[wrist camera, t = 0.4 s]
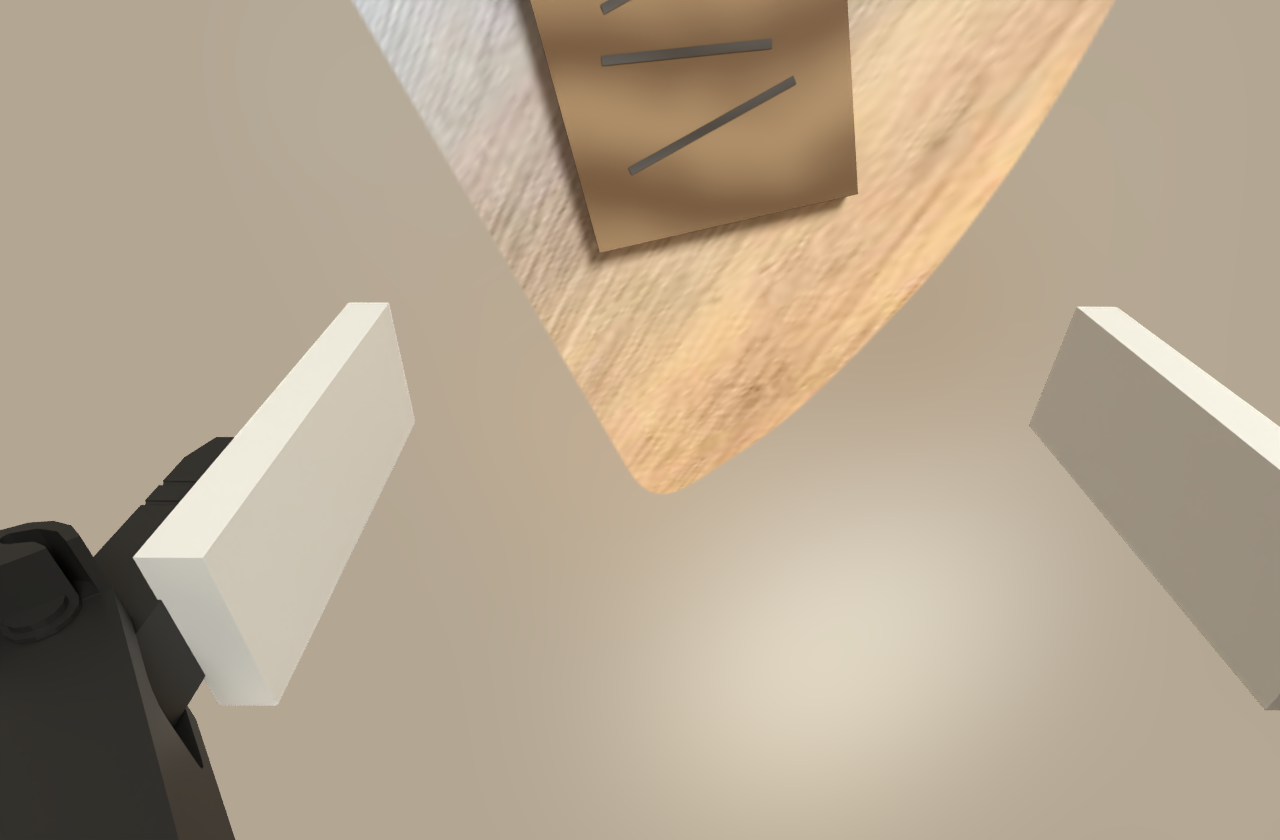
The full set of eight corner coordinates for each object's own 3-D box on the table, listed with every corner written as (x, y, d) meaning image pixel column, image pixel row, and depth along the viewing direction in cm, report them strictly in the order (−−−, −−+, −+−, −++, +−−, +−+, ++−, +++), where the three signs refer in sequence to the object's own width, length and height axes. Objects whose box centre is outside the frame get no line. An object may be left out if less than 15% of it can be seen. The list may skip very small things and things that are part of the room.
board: (490, -160, 29) (484, -165, 27) (825, -266, 27) (832, -276, 26) (600, 245, 38) (599, 253, 37) (851, 187, 36) (858, 194, 35)
